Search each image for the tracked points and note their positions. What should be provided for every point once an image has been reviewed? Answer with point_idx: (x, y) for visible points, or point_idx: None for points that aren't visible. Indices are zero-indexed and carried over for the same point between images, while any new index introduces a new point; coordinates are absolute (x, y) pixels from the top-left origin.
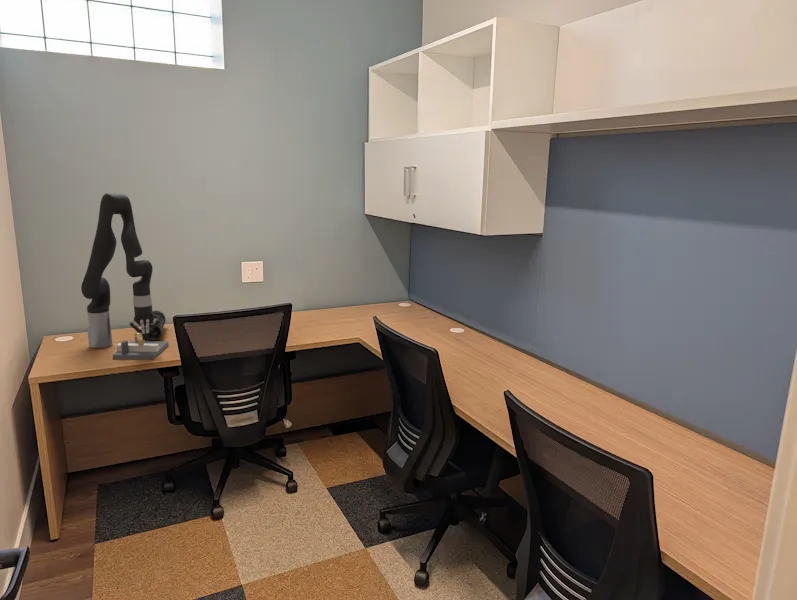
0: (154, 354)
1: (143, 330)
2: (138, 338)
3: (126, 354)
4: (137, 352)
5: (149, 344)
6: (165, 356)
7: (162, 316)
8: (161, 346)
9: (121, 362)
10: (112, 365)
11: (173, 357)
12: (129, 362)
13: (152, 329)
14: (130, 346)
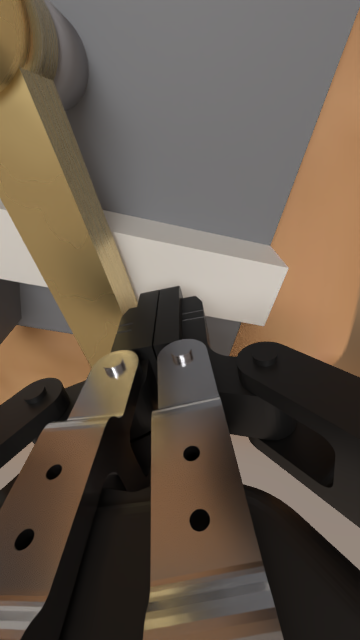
0: (233, 341)
1: (139, 459)
2: (65, 298)
3: (27, 316)
4: None
5: (195, 275)
6: (299, 295)
7: None
8: (297, 131)
9: (36, 358)
10: (7, 393)
11: (348, 322)
12: (85, 365)
13: (290, 440)
14: (11, 275)
